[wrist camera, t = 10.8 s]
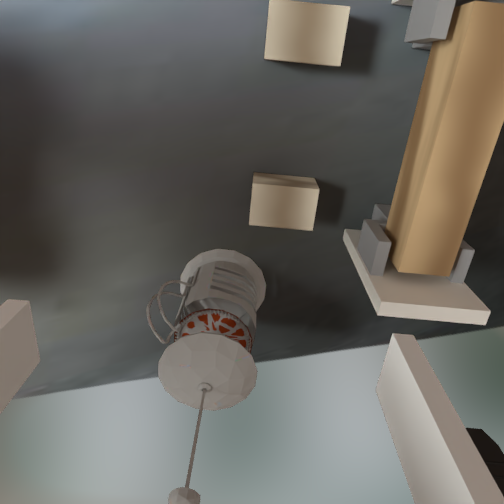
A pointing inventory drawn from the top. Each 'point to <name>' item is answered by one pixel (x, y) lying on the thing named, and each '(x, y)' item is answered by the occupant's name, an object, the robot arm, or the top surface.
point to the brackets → (372, 234)
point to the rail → (449, 141)
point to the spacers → (309, 52)
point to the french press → (211, 338)
